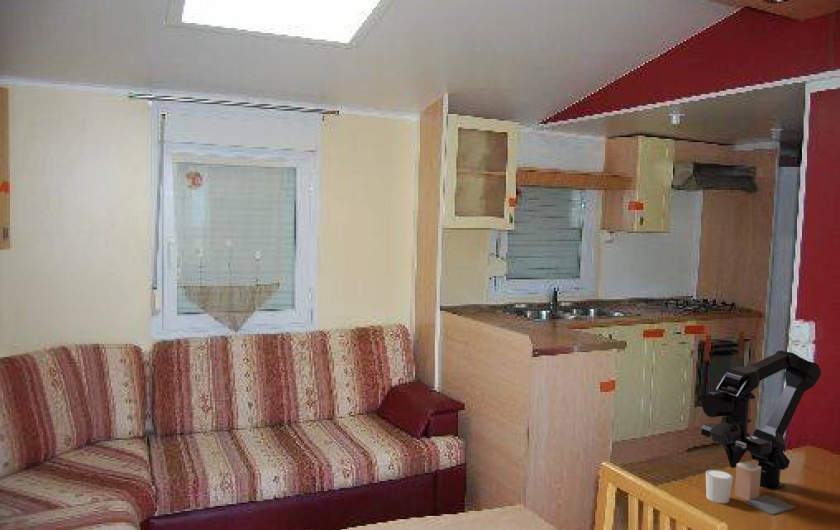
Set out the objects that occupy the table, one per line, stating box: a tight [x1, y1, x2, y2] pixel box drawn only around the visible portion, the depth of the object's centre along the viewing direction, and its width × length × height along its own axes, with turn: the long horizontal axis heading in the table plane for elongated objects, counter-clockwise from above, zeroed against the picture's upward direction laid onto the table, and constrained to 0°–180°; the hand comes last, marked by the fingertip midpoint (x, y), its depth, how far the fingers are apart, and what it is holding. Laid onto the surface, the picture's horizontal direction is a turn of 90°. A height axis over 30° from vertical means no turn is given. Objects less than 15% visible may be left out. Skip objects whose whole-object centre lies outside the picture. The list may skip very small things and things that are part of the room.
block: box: [734, 460, 761, 501], centre depth 178 cm, size 4×4×9 cm
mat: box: [743, 494, 796, 516], centre depth 173 cm, size 10×8×1 cm
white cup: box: [705, 469, 734, 504], centre depth 176 cm, size 7×7×7 cm
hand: (733, 467), depth 182 cm, fingers closed
